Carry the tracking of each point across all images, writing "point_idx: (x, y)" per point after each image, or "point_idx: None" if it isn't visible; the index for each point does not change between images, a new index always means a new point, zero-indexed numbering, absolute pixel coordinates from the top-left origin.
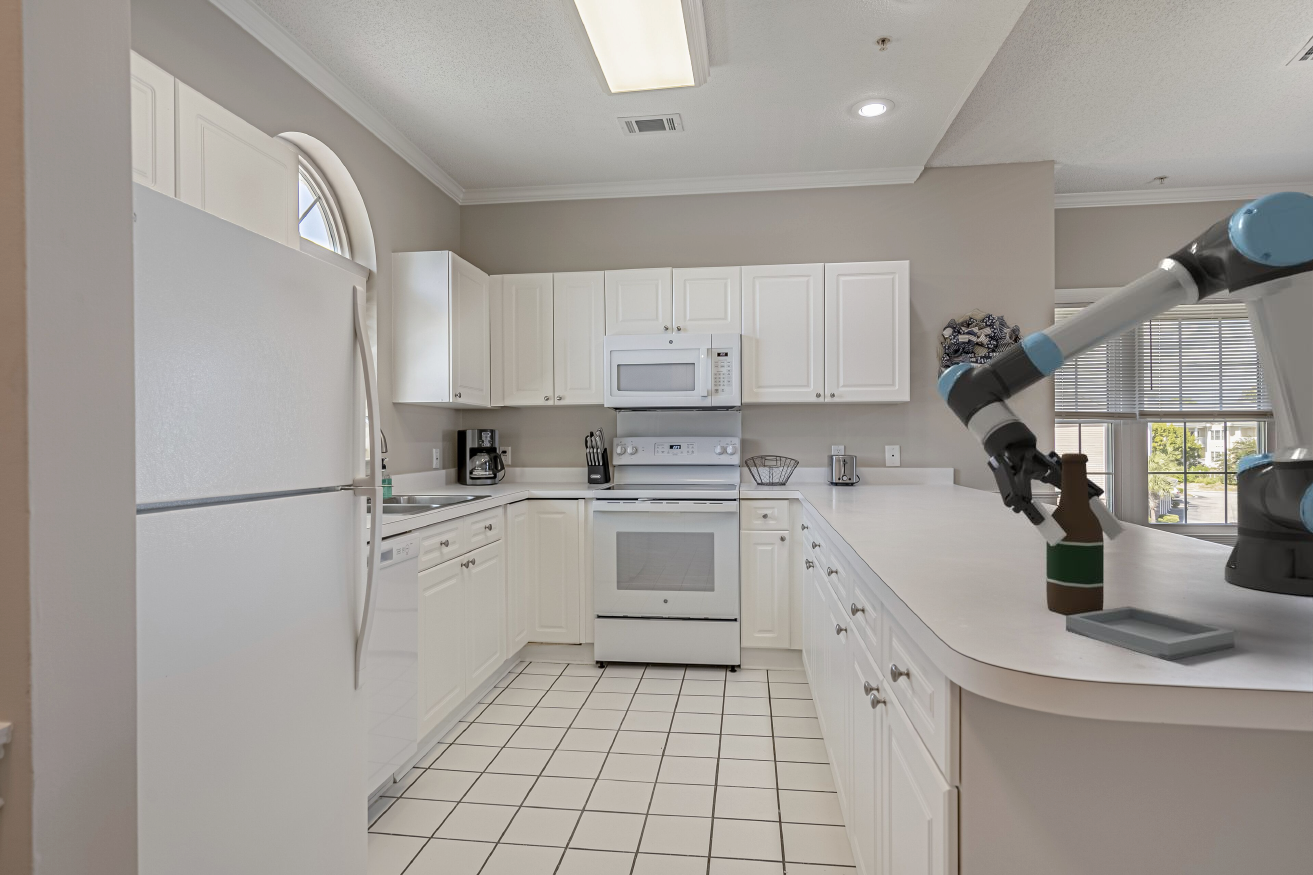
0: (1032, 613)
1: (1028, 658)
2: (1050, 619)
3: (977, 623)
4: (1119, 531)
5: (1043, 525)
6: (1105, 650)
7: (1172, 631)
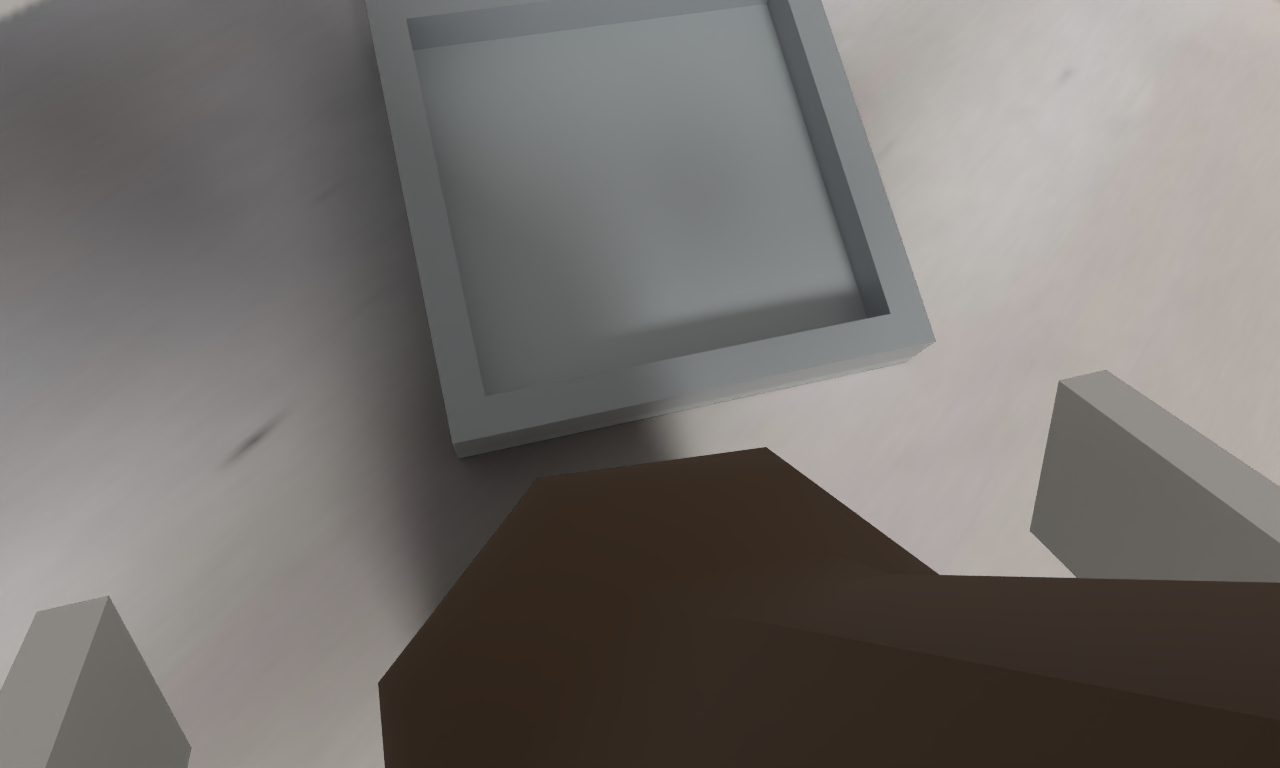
0: None
1: (1244, 109)
2: None
3: None
4: (131, 648)
5: None
6: (922, 117)
7: (491, 191)
